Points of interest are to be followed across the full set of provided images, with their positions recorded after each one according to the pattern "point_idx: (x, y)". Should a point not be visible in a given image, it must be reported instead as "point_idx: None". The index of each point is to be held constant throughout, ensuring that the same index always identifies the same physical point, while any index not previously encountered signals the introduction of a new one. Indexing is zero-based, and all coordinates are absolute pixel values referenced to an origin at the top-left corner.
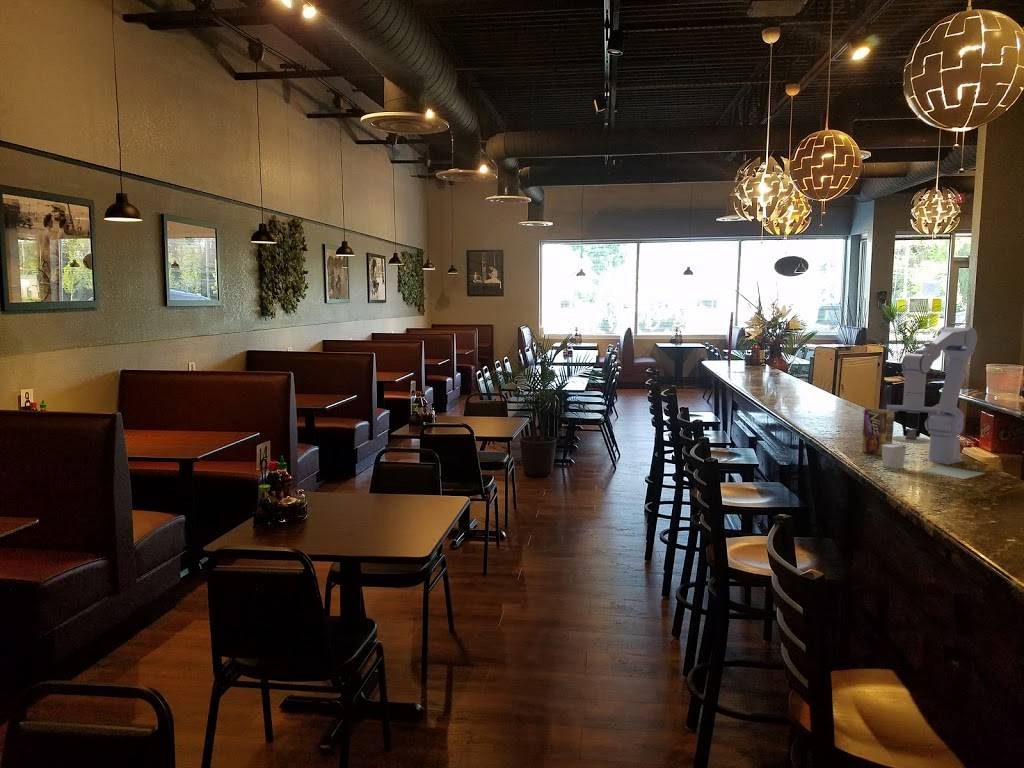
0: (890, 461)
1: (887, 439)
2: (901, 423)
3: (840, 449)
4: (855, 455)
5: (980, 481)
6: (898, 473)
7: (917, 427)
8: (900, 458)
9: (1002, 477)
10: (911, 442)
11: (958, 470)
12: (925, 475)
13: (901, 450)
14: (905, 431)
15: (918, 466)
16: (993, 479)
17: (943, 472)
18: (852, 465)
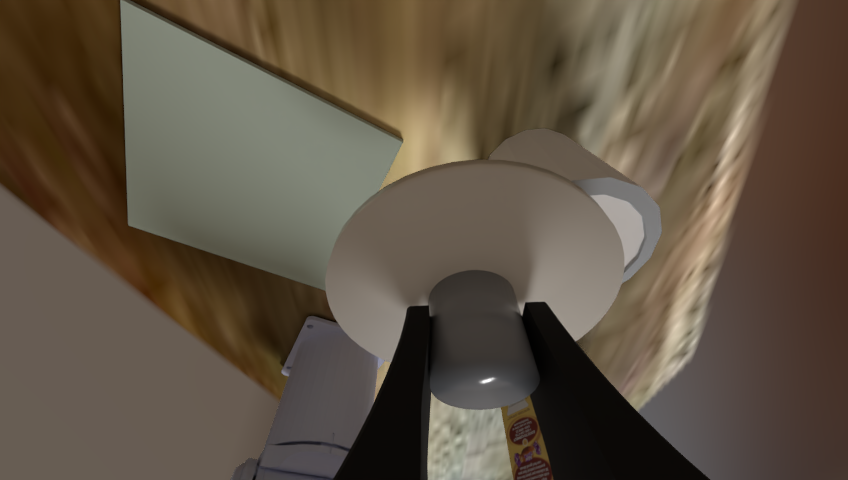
0: (569, 143)
1: (527, 420)
2: (654, 430)
3: (646, 380)
4: (627, 328)
5: (44, 22)
6: (526, 7)
7: (428, 429)
8: None
9: (50, 201)
10: (484, 162)
11: (240, 230)
12: (363, 38)
13: None
14: (550, 336)
15: None
16: (42, 131)
17: (283, 148)
18: (752, 126)
